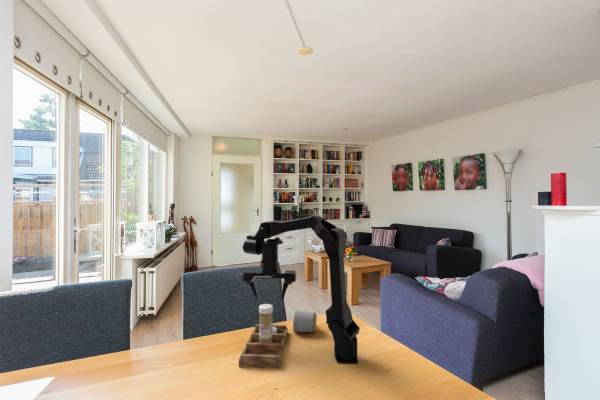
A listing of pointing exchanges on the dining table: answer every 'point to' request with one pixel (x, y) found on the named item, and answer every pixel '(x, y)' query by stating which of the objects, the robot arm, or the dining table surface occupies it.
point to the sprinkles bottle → (265, 323)
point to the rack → (264, 349)
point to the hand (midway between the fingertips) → (269, 299)
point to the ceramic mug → (304, 321)
